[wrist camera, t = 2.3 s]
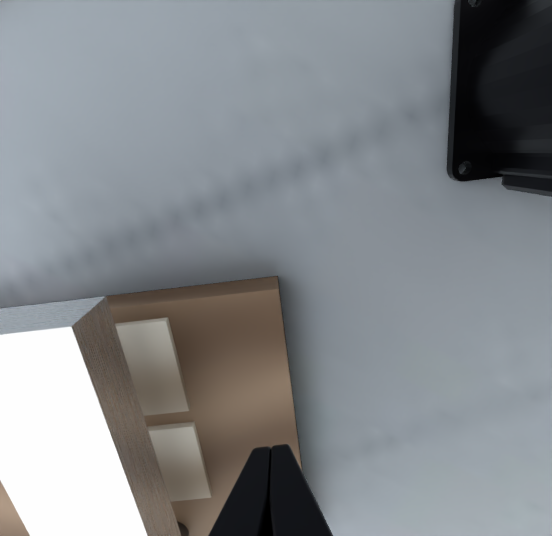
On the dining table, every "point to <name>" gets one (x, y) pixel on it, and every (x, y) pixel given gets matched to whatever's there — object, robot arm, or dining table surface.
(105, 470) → the swing bar
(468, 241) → the dining table surface
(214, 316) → the label board
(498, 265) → the dining table surface
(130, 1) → the dining table surface
